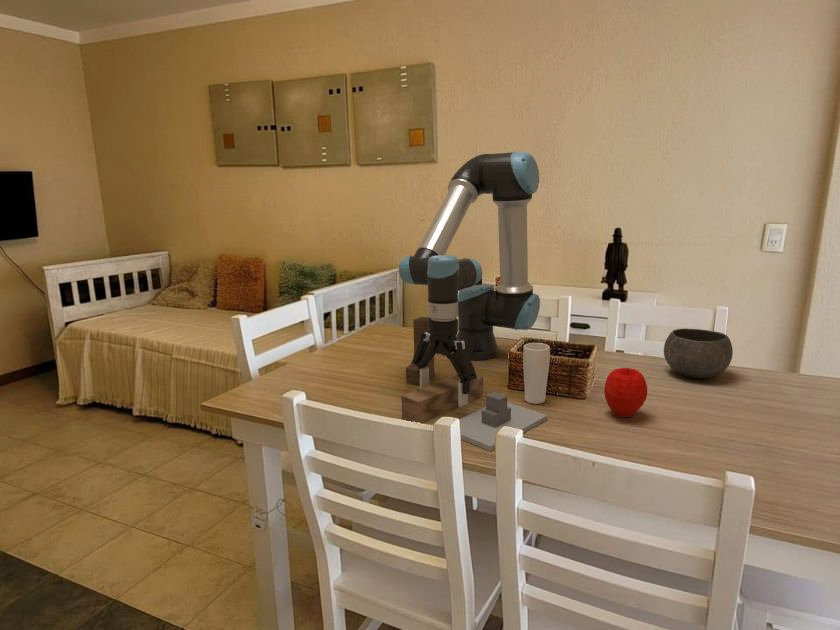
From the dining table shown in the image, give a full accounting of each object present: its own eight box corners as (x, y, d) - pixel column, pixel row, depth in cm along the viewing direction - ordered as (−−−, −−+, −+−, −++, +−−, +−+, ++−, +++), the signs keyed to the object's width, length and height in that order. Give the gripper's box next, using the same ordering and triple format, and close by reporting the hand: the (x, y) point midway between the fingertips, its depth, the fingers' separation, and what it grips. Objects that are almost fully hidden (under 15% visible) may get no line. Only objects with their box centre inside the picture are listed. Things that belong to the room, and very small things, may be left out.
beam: (466, 392, 151) (466, 371, 150) (483, 397, 147) (483, 376, 146) (402, 418, 135) (401, 395, 134) (418, 425, 131) (418, 402, 130)
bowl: (662, 381, 155) (666, 339, 152) (661, 362, 171) (664, 323, 168) (733, 389, 148) (739, 344, 145) (725, 368, 165) (730, 328, 162)
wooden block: (418, 385, 156) (416, 324, 152) (405, 382, 159) (403, 322, 155) (435, 375, 164) (434, 317, 159) (422, 373, 166) (421, 316, 162)
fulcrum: (501, 404, 142) (501, 376, 140) (547, 419, 132) (548, 390, 130) (442, 431, 127) (442, 401, 125) (490, 451, 117) (490, 418, 115)
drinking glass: (549, 397, 145) (551, 343, 142) (546, 407, 139) (548, 351, 136) (523, 394, 148) (525, 341, 144) (519, 404, 141) (521, 349, 138)
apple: (640, 427, 127) (644, 377, 124) (597, 418, 132) (600, 371, 129) (648, 412, 135) (652, 365, 132) (607, 404, 140) (610, 359, 137)
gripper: (398, 313, 142) (399, 389, 146) (471, 329, 124) (470, 415, 129) (418, 308, 147) (419, 383, 152) (491, 323, 129) (490, 407, 134)
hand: (443, 398), depth 140 cm, fingers open, 13 cm apart
